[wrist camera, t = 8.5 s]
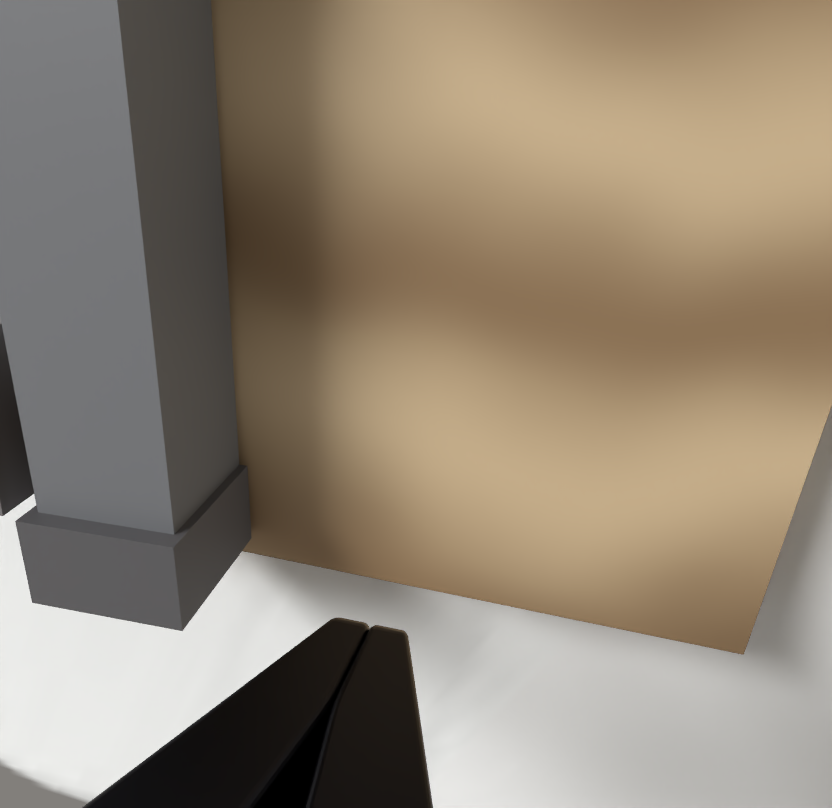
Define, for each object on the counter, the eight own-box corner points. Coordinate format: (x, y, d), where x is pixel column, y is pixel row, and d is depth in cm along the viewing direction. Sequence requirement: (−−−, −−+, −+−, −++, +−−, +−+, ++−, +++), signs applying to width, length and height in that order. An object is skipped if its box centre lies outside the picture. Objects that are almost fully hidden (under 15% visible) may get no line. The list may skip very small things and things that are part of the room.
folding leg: (20, -241, 12) (-183, -364, 9) (207, -247, 12) (62, -381, 8) (124, 517, 18) (25, 608, 15) (251, 537, 18) (177, 637, 14)
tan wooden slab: (-7, -234, 14) (-277, -387, 10) (991, -203, 12) (1253, -394, 7) (76, 471, 21) (-64, 574, 16) (727, 599, 18) (775, 765, 14)
